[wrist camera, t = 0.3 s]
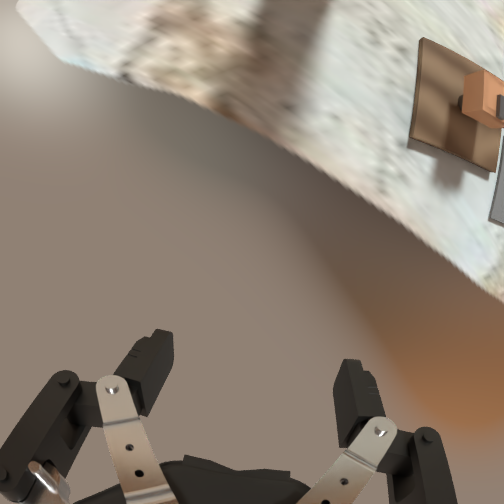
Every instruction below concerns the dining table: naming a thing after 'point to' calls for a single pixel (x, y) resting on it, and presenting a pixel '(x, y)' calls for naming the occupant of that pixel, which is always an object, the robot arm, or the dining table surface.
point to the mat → (499, 193)
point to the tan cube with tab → (484, 98)
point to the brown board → (449, 108)
